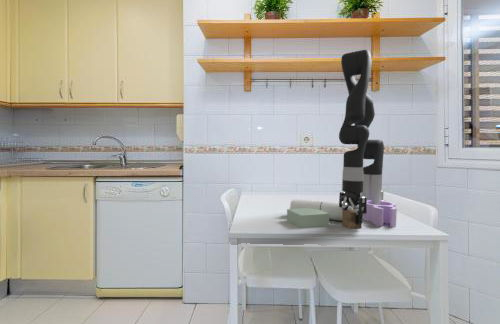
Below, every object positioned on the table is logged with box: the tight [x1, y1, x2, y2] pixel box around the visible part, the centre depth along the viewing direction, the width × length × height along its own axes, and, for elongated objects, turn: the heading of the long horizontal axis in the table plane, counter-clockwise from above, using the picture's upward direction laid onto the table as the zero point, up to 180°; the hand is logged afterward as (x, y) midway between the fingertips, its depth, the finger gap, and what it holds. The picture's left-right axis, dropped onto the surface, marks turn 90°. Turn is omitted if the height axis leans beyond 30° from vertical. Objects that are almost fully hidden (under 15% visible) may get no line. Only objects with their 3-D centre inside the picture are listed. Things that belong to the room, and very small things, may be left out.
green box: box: [286, 208, 330, 229], centre depth 125 cm, size 12×12×5 cm
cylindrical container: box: [289, 198, 353, 222], centre depth 133 cm, size 7×7×25 cm
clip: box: [362, 199, 398, 228], centre depth 130 cm, size 20×12×7 cm, turn 171°
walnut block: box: [341, 209, 363, 230], centre depth 120 cm, size 5×5×6 cm
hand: (351, 222), depth 120 cm, fingers open, 8 cm apart
